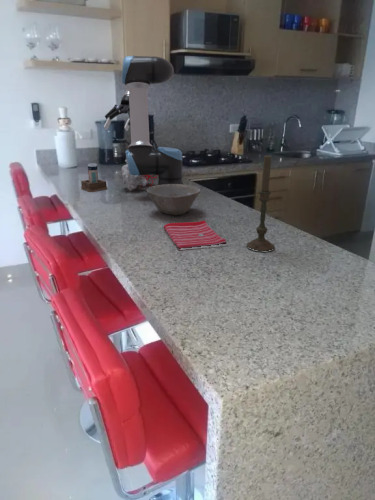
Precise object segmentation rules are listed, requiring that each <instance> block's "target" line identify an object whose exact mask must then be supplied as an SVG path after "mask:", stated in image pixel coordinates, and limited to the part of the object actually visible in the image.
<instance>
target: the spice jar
mask: <svg viewBox="0 0 375 500" xmlns="http://www.w3.org/2000/svg"><path fill="white" fill-rule="evenodd" d="M87 172H88V173H87V174H88V180H89V183H95V182H98V179H99V173H98V164H97V163H94V162H91V163H88V164H87Z"/></svg>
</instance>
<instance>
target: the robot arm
mask: <svg viewBox="0 0 375 500" xmlns="http://www.w3.org/2000/svg"><path fill="white" fill-rule="evenodd" d="M174 70H175V69H174V66H173V64H172V63H171V62H170V60H168V59H165V58H163V57H160V56H151V55H149V56H147V55H146V56H145V55H144V56H143V55H140V56H139V55H129V56H128V55H127V56H125V57H124V58H123V61H122V71H121V73H122V74H121V83H122V84H124V88H125V89H126V90H125V92H124V94H123V96H122V98H121V101H120V105H117V104H114V106H113V107H112V109H110V110H109V111H108V112H107V113H106V114H105V115H104V118H105V119H106V120H105V122H104V125H103V128H104V130H105V131H108V130H109V127H110V125H111V123H112V120H113V119H115V118H116V117H117V116H119V115H122V114H125V115H126V114H127V115H128V117H129V118H128V119H127V120H126V123H125V125H124V130H125V132H128V131H129V129H130V140H131V143H130V144H129V145H128V146H127V147H128V148H127V150H125V159H126V160H127V162H126V164H128V169H129V173H130V174H131V175H139V176H143V175H149V176H150V175H151V176H156V175H158V176H157V179H158V181H157V184H156V185H164V184H166V185H167V184H171V185H172V184H182V185H184V182H183V181H184V180H183V152H182V150H180V149H178V148H175V147H168V146H158V147H157V149H155V150H154V145H152V144H151V143H150V128H149V127H150V126H149V103H148V102H149V101H148V91H149V90H150V89H151V85H158V84H165V83H167V82H168V81H170V80H171V79H173V76H174V74H175V72H174Z"/></svg>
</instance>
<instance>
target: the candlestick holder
mask: <svg viewBox="0 0 375 500" xmlns="http://www.w3.org/2000/svg"><path fill="white" fill-rule="evenodd" d="M271 166H272V155H269V154H266V155H264V156H263V167H262V180H261V189H260V190H258V194H259V197H258V200H259V201H260V202H261V204H260V208H259V210H260V218H259V221H260V223H259V225H258V226H257V227H256V228H255V229H256V233H257V234H258V235H257V238H255V239H252V240H251V241H248V242H247V243H246V245H247V246H246V248H247V247H249V248H251V249H254V250H258V251H269V250H272V249H274V248H275V249H276V247H275V244H274V243H272V242H270V241H269V240H268V239H266V238H265V235H266V234H267V231H268V228H267V227H266V226H265V225H266V224H265V221H266V214H267V211H268V208H267V207H268V205H267V202H269V201H270V195H271V194H272V191H271V190H270V181H271V180H270V178H271V168H272V167H271ZM275 249H274V250H275ZM272 251H273V250H272Z"/></svg>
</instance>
